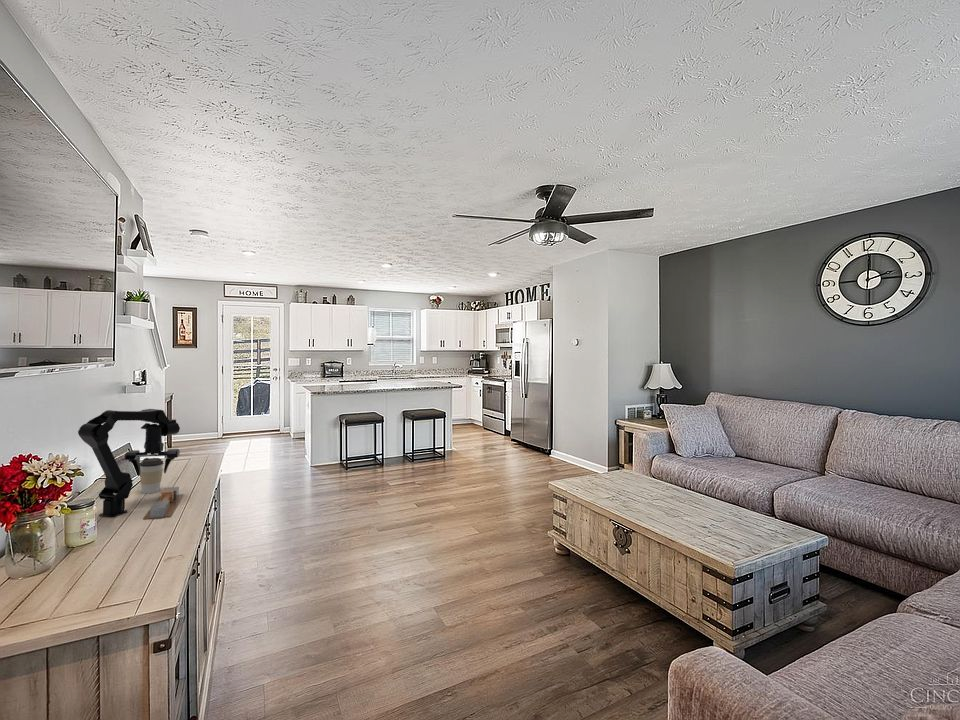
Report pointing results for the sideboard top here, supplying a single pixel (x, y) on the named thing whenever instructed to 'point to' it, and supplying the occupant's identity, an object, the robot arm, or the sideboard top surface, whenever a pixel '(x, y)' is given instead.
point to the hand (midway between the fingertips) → (152, 473)
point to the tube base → (164, 506)
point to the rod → (167, 495)
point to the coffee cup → (151, 474)
